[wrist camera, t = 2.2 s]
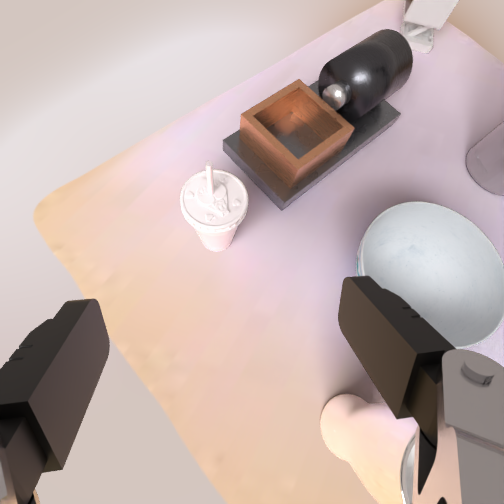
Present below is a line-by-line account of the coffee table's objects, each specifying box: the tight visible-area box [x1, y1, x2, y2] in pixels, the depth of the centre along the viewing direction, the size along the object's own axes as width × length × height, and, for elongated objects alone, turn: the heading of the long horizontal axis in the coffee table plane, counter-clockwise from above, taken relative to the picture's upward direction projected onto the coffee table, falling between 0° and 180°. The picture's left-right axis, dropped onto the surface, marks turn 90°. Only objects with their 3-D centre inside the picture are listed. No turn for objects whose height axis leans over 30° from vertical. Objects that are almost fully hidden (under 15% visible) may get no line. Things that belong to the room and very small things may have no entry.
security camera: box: [400, 0, 459, 54], centre depth 47 cm, size 6×7×10 cm
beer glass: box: [320, 394, 418, 504], centre depth 23 cm, size 7×7×15 cm
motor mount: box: [223, 29, 413, 211], centre depth 38 cm, size 24×12×10 cm, turn 131°
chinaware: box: [356, 201, 504, 349], centre depth 32 cm, size 15×15×8 cm
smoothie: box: [180, 161, 248, 252], centre depth 29 cm, size 6×6×14 cm
